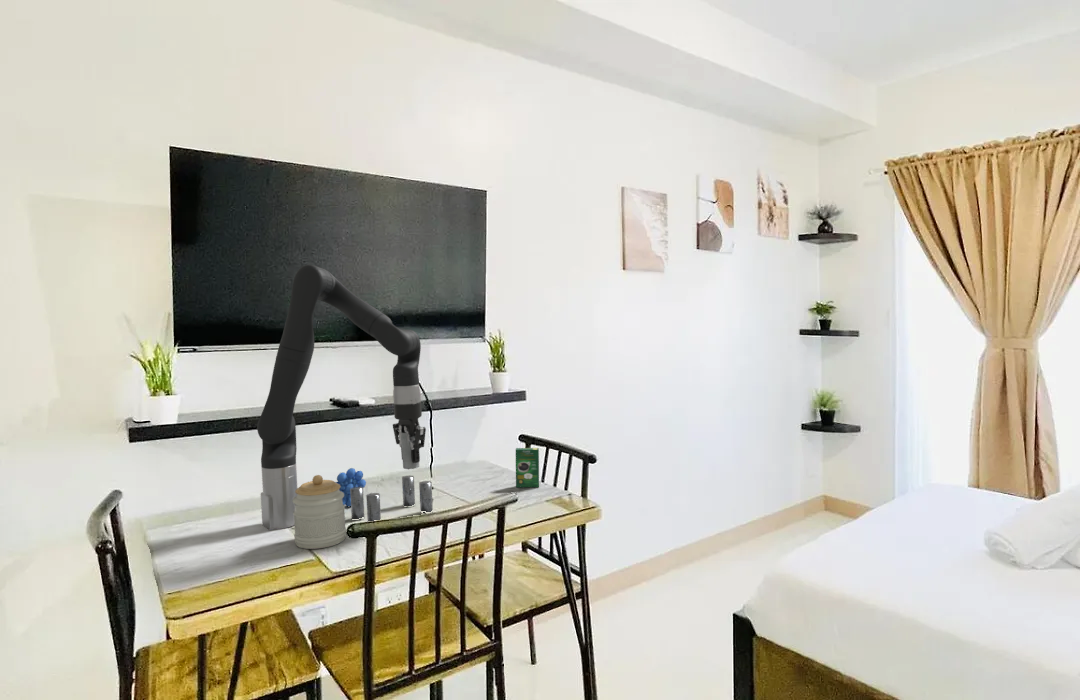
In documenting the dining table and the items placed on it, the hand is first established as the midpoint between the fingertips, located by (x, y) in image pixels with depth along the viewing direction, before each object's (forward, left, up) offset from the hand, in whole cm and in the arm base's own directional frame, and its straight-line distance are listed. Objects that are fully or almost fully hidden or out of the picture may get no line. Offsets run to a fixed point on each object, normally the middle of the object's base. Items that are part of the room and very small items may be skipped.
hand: (410, 460), depth 182 cm
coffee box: (+46, +4, -18) cm, 50 cm away
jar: (-25, +6, -18) cm, 31 cm away
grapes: (-6, +30, -18) cm, 35 cm away
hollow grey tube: (0, 0, -2) cm, 2 cm away
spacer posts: (-1, +11, -18) cm, 21 cm away
